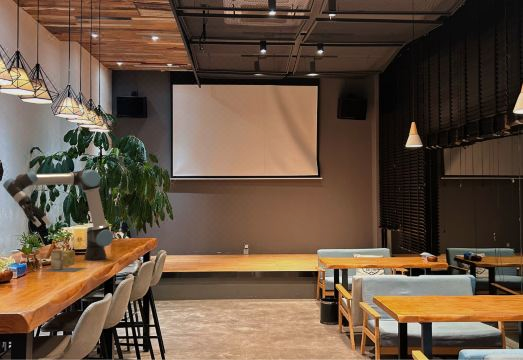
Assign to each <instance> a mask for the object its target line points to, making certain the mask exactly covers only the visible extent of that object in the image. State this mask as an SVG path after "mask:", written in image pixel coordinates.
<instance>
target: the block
mask: <svg viewBox="0 0 523 360" xmlns="http://www.w3.org/2000/svg"><path fill="white" fill-rule="evenodd" d="M63 250H64V249H51V250H50V269H51V270H61V269H63Z"/></svg>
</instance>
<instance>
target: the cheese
mask: <svg viewBox="0 0 523 360" xmlns="http://www.w3.org/2000/svg"><path fill="white" fill-rule="evenodd" d="M62 250H63V267H70V266H72V265H75V260H76V251H75V250H73V249H71V250H66V249H65V250H64V249H62Z"/></svg>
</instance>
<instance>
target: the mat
mask: <svg viewBox="0 0 523 360" xmlns="http://www.w3.org/2000/svg"><path fill="white" fill-rule="evenodd" d="M86 269H87V267H68V266H66V267H63V269H61V270H51V268H48V269H44V270H41V272H45V273H49V272H50V273H53V272H54V273H77V272H80V271H83V270H86Z"/></svg>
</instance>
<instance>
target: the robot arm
mask: <svg viewBox="0 0 523 360" xmlns="http://www.w3.org/2000/svg"><path fill="white" fill-rule="evenodd" d="M100 183H101V175H100V173H99V172H98V171H97V170H95V169H83V170H78V171H70V172H67V173H64V172H63V173H36V172H34V171H33V170H30V171H28V172H26V173H24V174H22V173H21V174H18V175H17V176H16V177H15V179H14V178H11V177H10V178H8V179H6V180H5V181H4V183H3V185H2V186H3V188H4V189H5V191H6V192H7V193H8V194H9V195H10V196H11V198H12V199H13V200H14V202H16V203H17V205H18V206H19V207H20V208H21V209H22V210H23V213H24V215H25V216H26V218H27V219H28V221H30V220H31V221H32V222H33V224H34V225H35V226H36V227H37V228H39V227H40V226H41V225H42V223H41V222H40V221H39V219H38V218H37V217H36V215H37V216H38V217H40V218H41V220H42V221H43V222H44V223H45V224H46V226H48V227H49V226H50V225H52V222H51V221H50V219H49V218H48V217H47V214H46V212H44V211H43V210H42V209H40V208H39V207H38V206H37V205H36V204H33V200H32V199H31V197H30V196H29V195H28V194H27V193H26V192H25V191H24V190H25V189H26V188H28V187H29V186H52V185H56V186H57V185H58V186H59V185H70V186H78V187H82V188H81V189H82V191H83V192H84V193H85V196H86V200H87V204H88V209H89V214H90V218H91V222H92V226H90V227H87V229H86V250H85V254H84V260H86V261H102V260H106V259H107V253H106V250H105V247H107V246H110V245H111V244H112V242H113V241H114V234H113V232H112V231H111V230H110V225H109V224H108V223H106V217H105V214H104V209H103V204H102V200H101V195H100V189H101V185H100ZM34 214H36V215H35V216H34Z"/></svg>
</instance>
